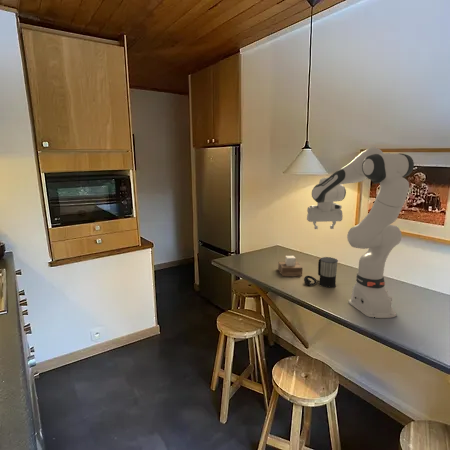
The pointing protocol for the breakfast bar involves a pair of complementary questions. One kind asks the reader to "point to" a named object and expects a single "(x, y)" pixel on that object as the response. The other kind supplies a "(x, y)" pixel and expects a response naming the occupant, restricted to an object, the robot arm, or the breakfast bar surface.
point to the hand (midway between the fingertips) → (323, 228)
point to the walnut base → (290, 269)
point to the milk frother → (325, 273)
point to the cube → (290, 260)
